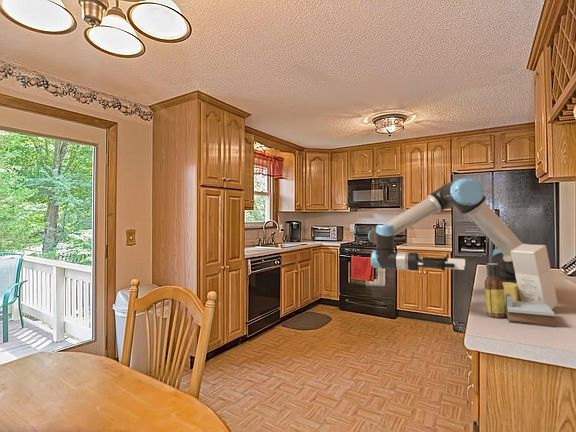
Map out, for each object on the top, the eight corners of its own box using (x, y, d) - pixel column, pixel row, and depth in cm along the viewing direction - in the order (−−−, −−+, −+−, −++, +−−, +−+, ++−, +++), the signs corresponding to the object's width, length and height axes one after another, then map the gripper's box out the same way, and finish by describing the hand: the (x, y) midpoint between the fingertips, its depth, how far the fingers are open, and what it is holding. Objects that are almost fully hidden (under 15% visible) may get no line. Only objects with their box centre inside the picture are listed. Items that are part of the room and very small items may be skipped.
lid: (505, 302, 131) (504, 292, 131) (546, 306, 124) (545, 295, 124) (508, 311, 118) (508, 300, 118) (554, 316, 111) (554, 303, 112)
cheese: (494, 303, 146) (493, 280, 146) (523, 307, 138) (522, 283, 138) (486, 307, 139) (485, 283, 140) (516, 312, 131) (515, 286, 132)
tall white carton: (558, 304, 132) (546, 244, 129) (546, 313, 128) (534, 252, 125) (533, 300, 140) (521, 243, 137) (522, 308, 136) (509, 250, 133)
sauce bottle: (509, 316, 125) (507, 263, 125) (500, 319, 122) (498, 265, 122) (491, 312, 130) (489, 262, 131) (482, 315, 127) (480, 263, 128)
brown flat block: (505, 312, 130) (505, 303, 130) (547, 316, 124) (546, 307, 124) (508, 322, 118) (508, 312, 118) (554, 327, 112) (554, 316, 112)
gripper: (413, 266, 152) (465, 269, 142) (402, 274, 130) (464, 278, 120) (412, 250, 152) (465, 252, 142) (402, 254, 131) (463, 257, 120)
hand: (464, 264), depth 131 cm, fingers open, 13 cm apart
